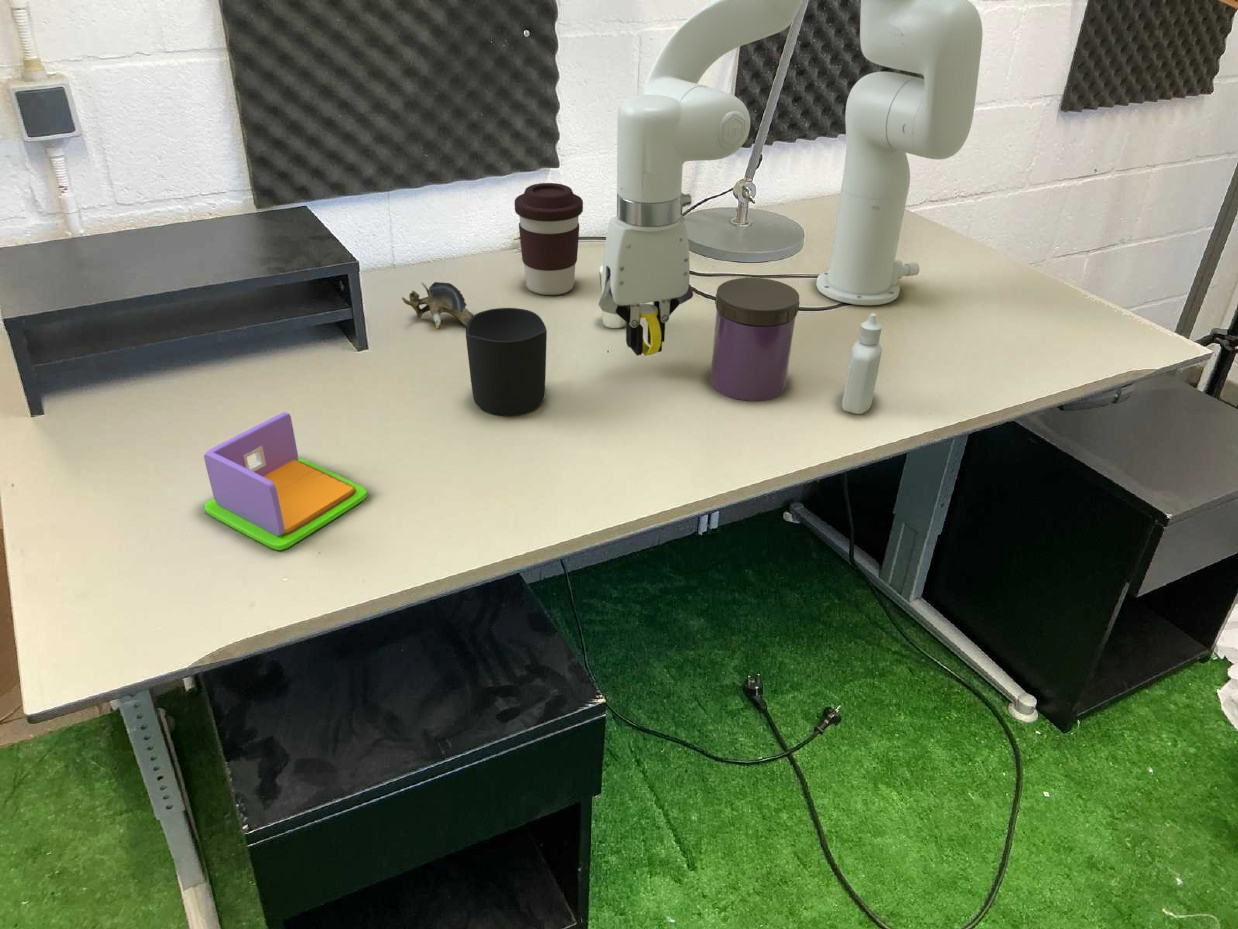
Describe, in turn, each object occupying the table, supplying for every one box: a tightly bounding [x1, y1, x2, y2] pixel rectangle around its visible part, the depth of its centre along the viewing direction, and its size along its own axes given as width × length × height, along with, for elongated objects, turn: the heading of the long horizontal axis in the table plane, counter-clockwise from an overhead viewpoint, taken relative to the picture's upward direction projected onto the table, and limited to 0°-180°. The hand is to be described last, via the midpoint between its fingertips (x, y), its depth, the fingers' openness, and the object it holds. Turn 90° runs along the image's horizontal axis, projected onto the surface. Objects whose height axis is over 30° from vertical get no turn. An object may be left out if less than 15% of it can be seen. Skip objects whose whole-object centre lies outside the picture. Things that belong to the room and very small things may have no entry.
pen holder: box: [465, 307, 548, 417], centre depth 115 cm, size 9×9×10 cm
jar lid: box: [714, 277, 800, 326], centre depth 116 cm, size 10×10×2 cm
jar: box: [709, 310, 796, 402], centre depth 119 cm, size 10×10×12 cm
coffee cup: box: [514, 182, 584, 296], centre depth 143 cm, size 10×10×15 cm
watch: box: [639, 303, 661, 357], centre depth 121 cm, size 6×3×6 cm, turn 27°
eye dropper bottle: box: [841, 313, 883, 415], centre depth 115 cm, size 4×6×12 cm
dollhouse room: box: [203, 411, 368, 551], centre depth 96 cm, size 12×12×7 cm
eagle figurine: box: [401, 280, 475, 330], centre depth 134 cm, size 8×7×9 cm
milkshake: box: [598, 264, 626, 329], centre depth 134 cm, size 4×5×10 cm
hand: (645, 348), depth 123 cm, fingers closed on watch, 2 cm apart
